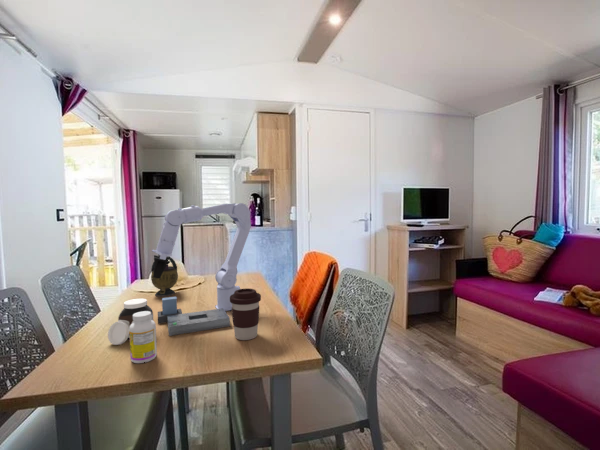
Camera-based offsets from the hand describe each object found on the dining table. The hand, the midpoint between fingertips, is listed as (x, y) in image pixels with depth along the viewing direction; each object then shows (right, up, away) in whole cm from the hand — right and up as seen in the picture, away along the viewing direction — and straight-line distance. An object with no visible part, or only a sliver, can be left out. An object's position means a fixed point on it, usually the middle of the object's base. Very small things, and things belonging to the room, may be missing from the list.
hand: (156, 276), depth 120 cm
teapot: (-11, -15, +33) cm, 38 cm away
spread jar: (-1, -18, -16) cm, 24 cm away
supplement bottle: (+10, -19, -30) cm, 36 cm away
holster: (+4, -16, +2) cm, 17 cm away
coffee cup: (+36, -17, -15) cm, 43 cm away
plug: (+4, -16, +2) cm, 17 cm away
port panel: (+17, -17, -5) cm, 24 cm away
